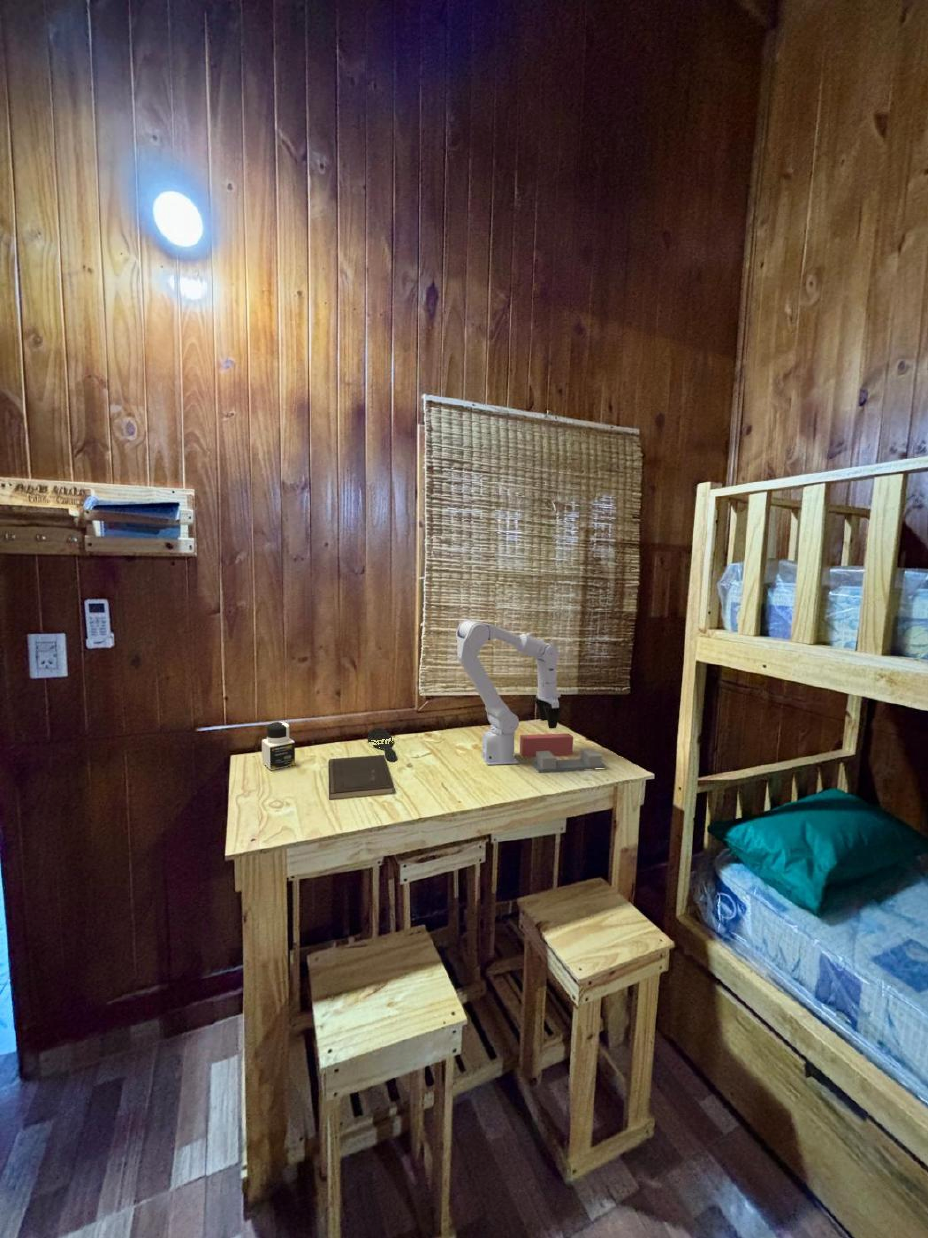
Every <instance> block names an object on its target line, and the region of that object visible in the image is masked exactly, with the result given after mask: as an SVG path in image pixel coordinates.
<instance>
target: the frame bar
mask: <svg viewBox="0 0 928 1238" xmlns="http://www.w3.org/2000/svg"><path fill="white" fill-rule="evenodd" d="M519 736H520V737H519V754H520V756H521V757H522V758H533V757H534V758H536V751H550V752H551V753H552V754H553V755H554V756H555V757H557V756H558V757H559V756H561V757H562V756H573V753H574V751H573V748H574V736H573V735H572V734H571V733H542V734H540V733H539V734H520V735H519Z"/></svg>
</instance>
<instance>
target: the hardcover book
mask: <svg viewBox="0 0 928 1238" xmlns="http://www.w3.org/2000/svg"><path fill="white" fill-rule="evenodd" d="M327 766H328V800H330V801H331V800H334V799H345V798H355V797H356V798H357V797H364V796H365V797H367V796H368V797H369V796H376V795H377V796H378V795H385V794H386V795H387V794H393V789H394V788H395V786H394V782H393V779H392V775H391V772H390V769H389V767H388V763H387V760H386V758H385V754H380V755H378V754H377V755H365V756H363V755H362V756H354V757H341V758H330V759H329V760H328V765H327Z"/></svg>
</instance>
